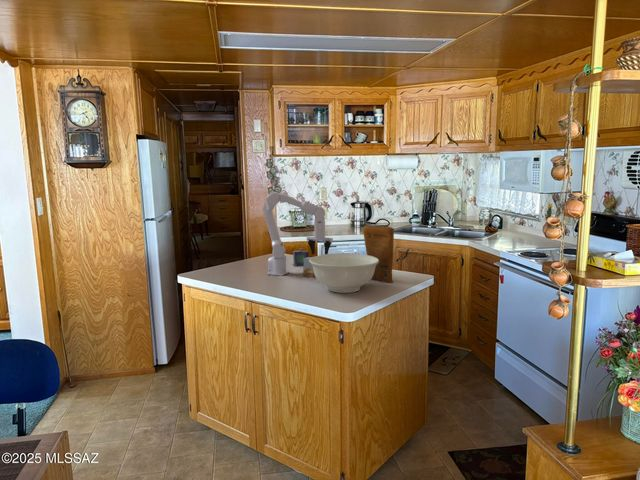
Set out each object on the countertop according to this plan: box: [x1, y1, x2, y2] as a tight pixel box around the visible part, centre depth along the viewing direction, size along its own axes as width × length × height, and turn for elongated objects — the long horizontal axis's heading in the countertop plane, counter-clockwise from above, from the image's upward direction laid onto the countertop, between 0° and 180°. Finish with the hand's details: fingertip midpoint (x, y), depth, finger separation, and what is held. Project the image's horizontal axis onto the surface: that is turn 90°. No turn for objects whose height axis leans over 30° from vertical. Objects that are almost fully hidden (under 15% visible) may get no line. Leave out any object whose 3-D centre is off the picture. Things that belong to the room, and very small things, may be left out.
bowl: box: [309, 252, 379, 294], centre depth 223 cm, size 32×32×15 cm
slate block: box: [303, 256, 313, 269], centre depth 250 cm, size 5×5×5 cm
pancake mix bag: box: [362, 225, 395, 283], centre depth 238 cm, size 7×19×28 cm, turn 40°
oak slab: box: [302, 267, 314, 274], centre depth 251 cm, size 6×6×2 cm
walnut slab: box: [301, 272, 315, 278], centre depth 251 cm, size 6×6×2 cm
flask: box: [292, 247, 310, 267], centre depth 275 cm, size 9×3×11 cm, turn 76°
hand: (319, 254), depth 255 cm, fingers open, 7 cm apart
